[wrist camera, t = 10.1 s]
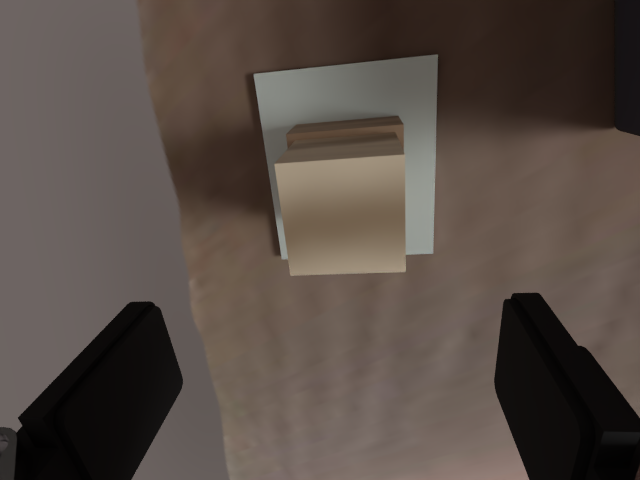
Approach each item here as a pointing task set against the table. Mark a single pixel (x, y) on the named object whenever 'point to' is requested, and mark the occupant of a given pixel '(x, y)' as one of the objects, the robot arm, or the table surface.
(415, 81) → the board
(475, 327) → the table surface
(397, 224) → the maple cube
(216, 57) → the table surface
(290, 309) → the table surface
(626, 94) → the black upright slab
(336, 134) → the walnut block
